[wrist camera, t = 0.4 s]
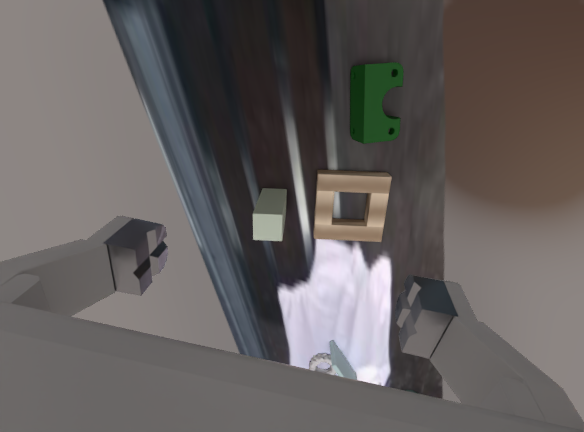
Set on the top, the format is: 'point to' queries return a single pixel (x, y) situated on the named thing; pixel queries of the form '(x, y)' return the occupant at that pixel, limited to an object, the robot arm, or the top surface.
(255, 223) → the peg
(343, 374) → the right angle wall
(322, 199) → the socket block
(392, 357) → the top surface
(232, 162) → the top surface
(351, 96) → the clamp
